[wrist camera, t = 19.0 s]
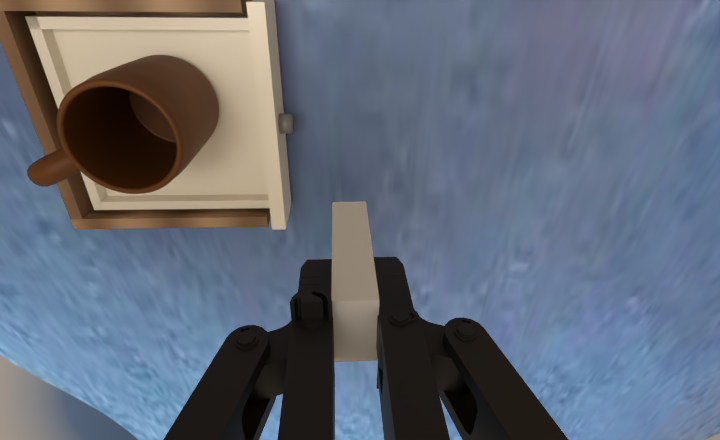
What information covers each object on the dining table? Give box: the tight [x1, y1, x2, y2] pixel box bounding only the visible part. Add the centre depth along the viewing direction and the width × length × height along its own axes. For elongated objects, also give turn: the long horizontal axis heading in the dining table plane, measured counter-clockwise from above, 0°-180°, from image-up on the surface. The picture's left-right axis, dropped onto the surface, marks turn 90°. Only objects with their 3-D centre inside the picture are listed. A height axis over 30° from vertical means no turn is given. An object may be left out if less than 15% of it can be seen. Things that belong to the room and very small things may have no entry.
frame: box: [0, 0, 271, 229], centre depth 34 cm, size 17×18×4 cm
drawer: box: [25, 0, 294, 229], centre depth 33 cm, size 18×18×5 cm
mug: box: [27, 55, 219, 194], centre depth 30 cm, size 12×8×9 cm, turn 113°
